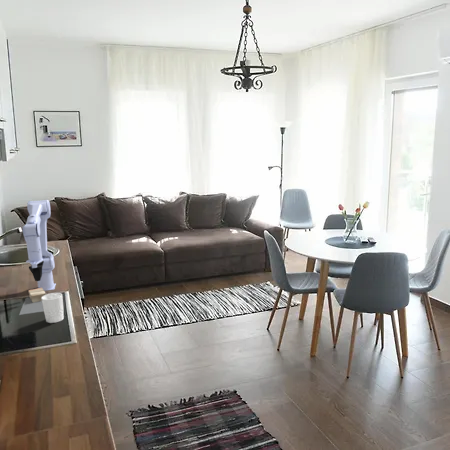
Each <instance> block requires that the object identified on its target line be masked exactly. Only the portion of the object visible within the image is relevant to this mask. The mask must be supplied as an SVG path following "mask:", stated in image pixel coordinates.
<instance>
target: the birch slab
mask: <svg viewBox="0 0 450 450" xmlns="http://www.w3.org/2000/svg"><path fill="white" fill-rule="evenodd" d="M44 295H47V293H46V291H44V290H43V288H38V287H37V288H34V289H29V290H28V296H29V297H30V299H31V301H32V302H38V301H42V299H41V298H42V297H43V296H44Z"/></svg>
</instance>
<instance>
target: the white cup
mask: <svg viewBox="0 0 450 450" xmlns="http://www.w3.org/2000/svg"><path fill="white" fill-rule="evenodd" d="M63 298H64V297H63V294H62V292H51V293H48V294H47V293H46V295H44V296H43V297H42V298H41V299H42V304H43V309H44V311H43V313H44V317H45V322H46V323H49V324H53V323H59V322H61V321H63V320H64V318H65V315H64V313H65V312H64V300H63Z"/></svg>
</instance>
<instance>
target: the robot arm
mask: <svg viewBox="0 0 450 450" xmlns="http://www.w3.org/2000/svg"><path fill="white" fill-rule="evenodd" d="M26 204H27V208H26V209H27V212H28V214H29V215H28V217H27V219H26V223H25V224H24V225H22V233H23V235H22V236H23V237H24V241H25V243H26V248H27V249H26V250H27V257H28V260H26V261H25V262H26V264H27V263H28V264H30V266H29V265H28V269H29V271H30V273H31V274H32V276H33V280H34V281H35V282H37V289H38V288H43V290H44V291H45V292H46V291H54V290H55V289H56V285H57V283H54V282H55V281H54V276H53V271H54V269H55V258H54V255H53V253H52V252H49V251H48V233H47V231H48V230H47V229H48V226H47V223H48V219H49V218H51V213H52V212H51V203H50V200H49V199H44V200H43V199H42V200H28V201H27V203H26Z"/></svg>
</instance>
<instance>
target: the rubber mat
mask: <svg viewBox="0 0 450 450" xmlns="http://www.w3.org/2000/svg"><path fill="white" fill-rule="evenodd" d="M41 312H42V313H44V309H43V304H42V301H38V302H32V301H31V299H30V297H25V299H24V301H23V304H22V306H21V309H20V311H19V314H18V315H19V316H21V315H28V314H35V313H41Z"/></svg>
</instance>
